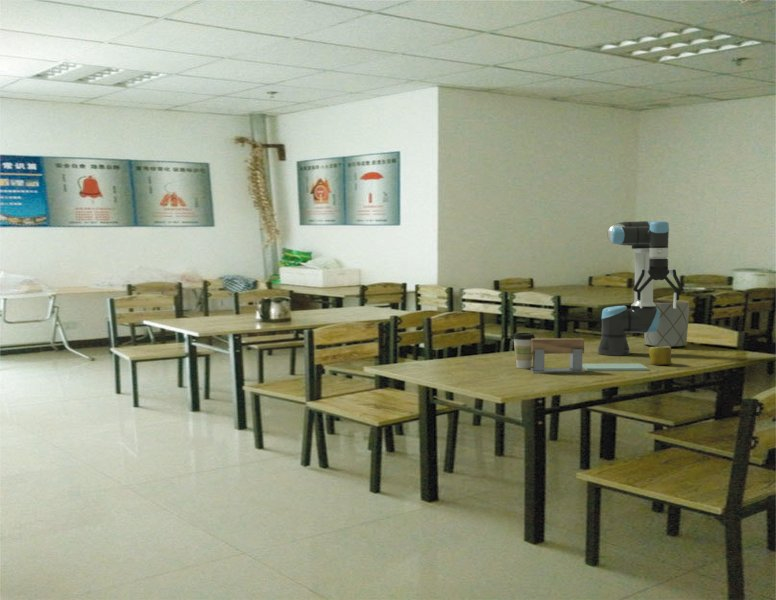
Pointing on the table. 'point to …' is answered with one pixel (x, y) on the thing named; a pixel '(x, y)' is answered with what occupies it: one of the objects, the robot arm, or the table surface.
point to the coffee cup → (523, 349)
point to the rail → (557, 345)
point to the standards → (574, 368)
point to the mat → (614, 367)
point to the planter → (670, 324)
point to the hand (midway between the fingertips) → (657, 308)
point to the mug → (660, 355)
